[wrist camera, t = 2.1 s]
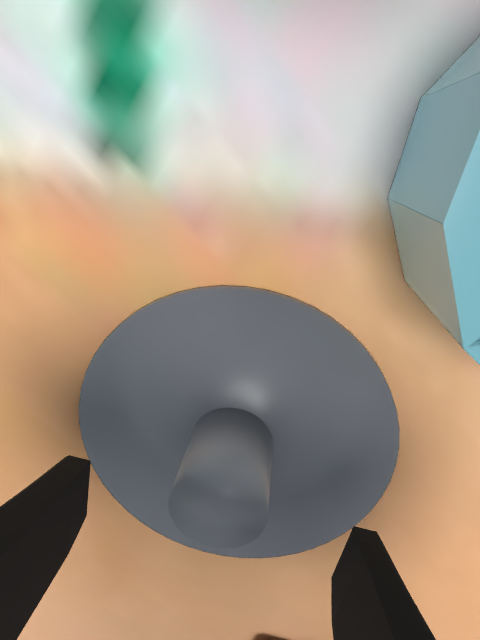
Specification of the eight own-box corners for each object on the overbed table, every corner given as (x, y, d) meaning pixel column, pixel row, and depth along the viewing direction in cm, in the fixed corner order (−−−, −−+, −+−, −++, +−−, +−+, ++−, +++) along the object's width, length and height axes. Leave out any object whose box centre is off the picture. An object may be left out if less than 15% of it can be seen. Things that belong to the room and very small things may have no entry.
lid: (340, 568, 17) (352, 676, 13) (81, 502, 17) (27, 590, 14) (445, 327, 13) (502, 393, 9) (99, 246, 13) (28, 281, 10)
